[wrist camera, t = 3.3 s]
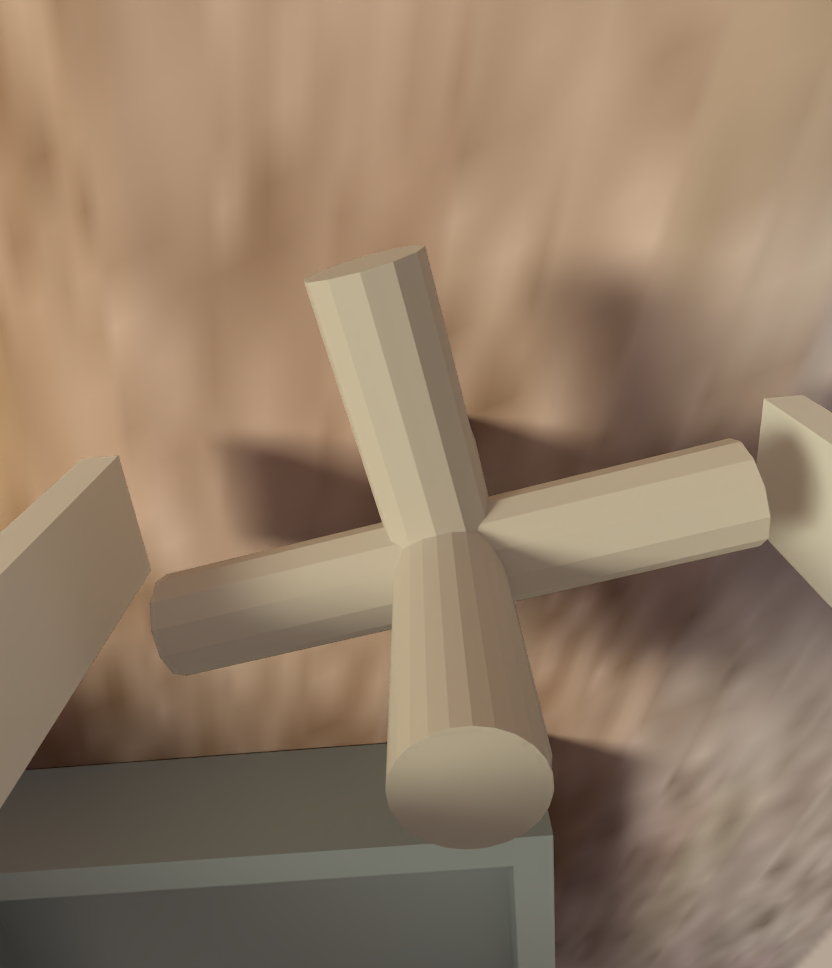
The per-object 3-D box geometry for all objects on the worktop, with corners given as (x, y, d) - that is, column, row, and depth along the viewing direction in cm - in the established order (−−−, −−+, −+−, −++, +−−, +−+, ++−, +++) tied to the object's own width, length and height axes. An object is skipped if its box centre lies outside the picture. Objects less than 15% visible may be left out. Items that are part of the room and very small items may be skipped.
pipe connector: (673, 575, 18) (935, 988, 9) (304, 658, 19) (210, 1105, 10) (617, 163, 14) (985, 167, 5) (154, 294, 15) (-225, 494, 6)
